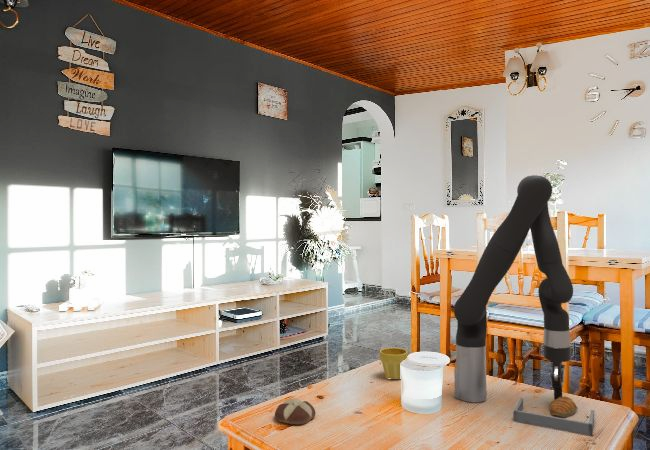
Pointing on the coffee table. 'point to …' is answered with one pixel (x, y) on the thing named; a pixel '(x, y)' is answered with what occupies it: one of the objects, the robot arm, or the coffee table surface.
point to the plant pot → (392, 361)
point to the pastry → (563, 407)
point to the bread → (295, 412)
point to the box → (553, 421)
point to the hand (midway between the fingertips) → (558, 399)
